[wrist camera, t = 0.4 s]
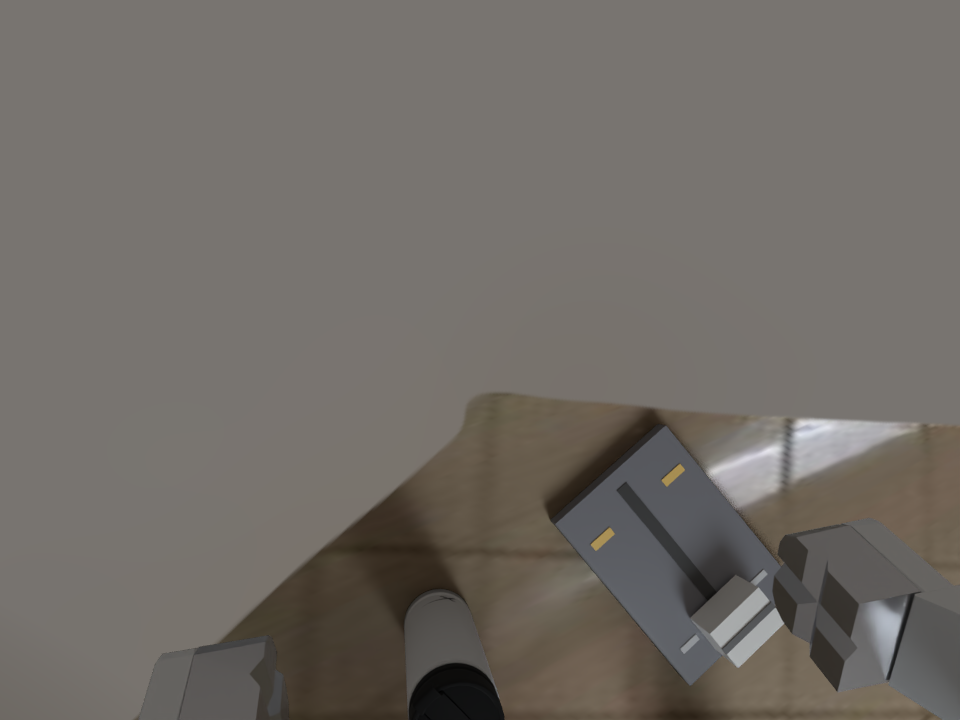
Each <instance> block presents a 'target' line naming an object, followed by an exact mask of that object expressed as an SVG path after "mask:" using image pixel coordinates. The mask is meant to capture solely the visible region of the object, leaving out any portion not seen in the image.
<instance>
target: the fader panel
mask: <svg viewBox="0 0 960 720" xmlns="http://www.w3.org/2000/svg"><path fill="white" fill-rule="evenodd" d="M551 522H552V523H553V524H554V525H555V526H556V528H557V529H558V530H559V531H560V532H561V534H562V535H563V536H564V537H565V538H566V540H567V541H568V542H569V543H570V544H571V546H572V547H573V548H574V549H575V550H576V552H577V553H578V554H579V555H580V556H581V558H582V559H583V560H584V561H585V562H586V564H587V565H588V566H589V567H590V568H591V570H592V571H593V572H594V573H595V574H596V576H597V577H598V578H599V579H600V580H601V582H602V583H603V584H604V585H605V586H606V588H607V589H608V590H609V591H610V592H611V594H612V595H613V596H614V597H615V598H616V600H617V601H618V602H619V603H620V604H621V606H622V607H623V608H624V609H625V610H626V612H627V613H628V614H629V615H630V616H631V618H632V619H633V620H634V621H635V622H636V624H637V625H638V626H639V627H640V628H641V630H642V631H643V632H644V633H645V634H646V635H647V637H648V638H649V639H650V640H651V641H652V643H653V644H654V645H655V646H656V647H657V649H658V650H659V651H660V652H661V653H662V655H663V656H664V657H665V658H666V659H667V661H668V662H669V663H670V664H671V665H672V667H673V668H674V669H675V670H676V671H677V673H678V674H679V675H680V676H681V677H682V678H683V679H684V680H685V681H686V682H687V683H688V684H689V685H690V686H691V685H692V684H693V683H694V682H695V681H696V680H697V679H698V678H699V677H700V676H701V675H702V674H703V673H704V672H705V671H706V670H707V669H709V668H710V667H711V666H712V665H713V664H714V663H715V662H716V661H717V660H718V659H719V658H720V657H721V656H722V655H721V654H720V653H719V652H718V651H717V650H716V649H715V648H714V647H713V646H712V645H711V643H710V642H709V641H708V640H707V638H706V637H705V636H704V635H703V634H702V632H701V631H700V630H699V629H698V628H697V626H696V625H695V624H694V623H693V622H692V620H691V619H690V618H691V617H692V616H693V615H694V614H695V613H696V612H697V611H698V610H699V609H700V608H701V607H702V606H703V605H704V604H705V603H706V602H707V601H709V600H710V599H711V598H712V597H713V596H714V595H715V594H716V593H717V592H718V591H719V590H720V589H721V588H722V587H723V586H724V585H725V584H726V583H728V582H729V581H730V580H731V579H732V578H733V577H734V576H735V575H737V576H739V577H741V578H743V579H744V580H746V581H748V582H750V583H752V584H753V585H755V586H757V587H759V588H760V590H761V591H762V592H763V593H764V595H765V596H766V597H767V598H768V599H769V601H771V602H772V603H773V604H774V605H775V601H774V597H773V593H772V589H773V580H774V575H775V574H776V573H777V571H778V570H779V569H780V568H781V566H780V565H779V564H778V562H777V561H776V560H775V559H774V558H773V556H772V555H771V554H770V553H769V551H768V550H767V549H766V548H765V546H764V545H763V544H762V543H761V542H760V540H759V539H758V538H757V537H756V535H755V534H754V533H753V532H752V531H751V529H750V528H749V527H748V526H747V524H746V523H745V522H744V521H743V519H742V518H741V517H740V516H739V515H738V513H737V512H736V511H735V510H734V508H733V507H732V506H731V505H730V504H729V502H728V501H727V500H726V499H725V497H724V496H723V495H722V494H721V492H720V491H719V490H718V489H717V488H716V486H715V485H714V484H713V483H712V481H711V480H710V479H709V478H708V477H707V475H706V474H705V473H704V472H703V470H702V469H701V468H700V467H699V465H698V464H697V463H696V462H695V461H694V459H693V458H692V457H691V456H690V454H689V453H688V452H687V451H686V450H685V448H684V447H683V446H682V445H681V443H680V442H679V441H678V440H677V438H676V437H675V436H674V435H673V434H672V432H671V431H670V430H669V429H668V427H667V426H666V425H660V424H657V425H656V426H655V427H654V428H653V429H652V430H651V431H649V432H648V433H647V434H646V435H645V436H644V437H643V438H642V439H640V440H639V441H638V442H637V443H636V444H635V445H634V446H633V447H631V448H630V449H629V450H628V451H627V452H626V453H625V454H624V455H622V456H621V457H620V458H619V459H618V460H617V461H616V462H615V463H614V464H612V465H611V466H610V467H609V468H608V469H607V470H606V471H605V472H603V473H602V474H601V475H600V476H599V477H598V478H597V479H596V480H594V481H593V482H592V483H591V484H590V485H589V486H588V487H587V488H585V489H584V490H583V491H582V492H581V493H580V494H579V495H578V496H577V497H575V498H574V499H573V500H572V501H571V502H570V503H569V504H568V505H566V506H565V507H564V508H563V509H562V510H561V511H560V512H559V513H557V514H556V515H555V516H554V517H553V518H552V519H551Z"/></svg>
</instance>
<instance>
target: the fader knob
mask: <svg viewBox="0 0 960 720" xmlns="http://www.w3.org/2000/svg"><path fill="white" fill-rule="evenodd" d="M690 619H691V620H692V622H693V623H694V624H695V625H696V626H697V628H698V629H699V630H700V631H701V632H702V634H703V635H704V636H705V637H706V638H707V640H708V641H709V642H710V643H711V645H712V646H713V647H714V648H715V649H716V650H717V651H718V652H719V653H720V654H721V655H723V656H724V657H725V658H726V659H727V660H729V661H730V662H731V663H732V664H734V665H735V666H736V667H737V668H739V667H740V666H741V665H742V664H743V663H744V662H745V661H746V660H747V659H748V658H749V657H750V656H751V655H752V654H753V653H754V652H755V651H756V650H757V649H758V648H759V647H760V646H761V645H762V644H763V643H764V642H766V641H767V640H768V639H769V638H770V637H771V636H772V635H773V634H774V633H775V632H776V631H777V630H778V629H779V628H780V627H781V626H782V625H783V624H784V622H783V621H782V619H781V617H780V615H779V613H778V611H777V609H776V608H775V605H774V604H773V603H772V602H771V601H769V599H768V598H767V597H766V596H765V595H764V593H763V592H762V591H761V590H760V588H759V587H757V586H755V585H753V584H752V583H750V582H748V581H746V580H744V579H743V578H741V577H739V576H737V575H735V576H734V577H733V578H732V579H731V580H730V581H729V582H728V583H726V584H725V585H724V586H723V587H722V588H721V589H720V590H719V591H718V592H717V593H716V594H715V595H714V596H713V597H712V598H711V599H710V600H709V601H707V602H706V603H705V604H704V605H703V606H702V607H701V608H700V609H699V610H698V611H697V612H696V613H695V614H694V615H693V616H692V617H691V618H690Z"/></svg>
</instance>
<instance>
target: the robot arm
mask: <svg viewBox="0 0 960 720" xmlns="http://www.w3.org/2000/svg"><path fill="white" fill-rule="evenodd" d="M778 556H779V557H780V558H781V559H782V561H783V562H784V564H783V565H782V567H781V568H780V569H779V570H778V571H777V573H776V574H775V575H774V580H773V589H772V593H773V597H774V601H775V605H776V609H777V611H778V613H779V615H780V617H781V619H782V621H783V622H784V624H785V625H786V626H787V628H788V629H789V630H790V632H791V633H792V634H793V635H795V636H797V637H799V638H801V639H803V640H805V641H806V642H808V643H810V658H811V659H812V660H813V661H814V663H815V664H816V665H817V667H818V668H819V669H820V670H821V672H822V673H823V674H824V676H825V677H826V678H827V679H828V681H829V682H830V683H831V684H832V686H833V687H834V688H835V690H836V691H837V692H841V691H846V690H851V689H856V688H861V687H866V686H871V685H876V684H881V683H886V682H889V686H891V687H892V688H894V689H895V690H897V691H899V692H900V693H902V694H903V695H905V696H906V697H908V698H910V699H911V700H913V701H914V702H916V703H917V704H919V705H921V706H922V707H924V708H925V709H927V710H928V711H930V712H932V713H933V714H935V715H936V716H938V717H939V718H941V719H943V720H960V585H956V586H953V585H952V584H951V583H950V582H949V581H948V580H947V579H945V578H944V577H943V576H942V575H941V574H940V573H938V572H937V571H936V570H935V569H934V568H933V567H932V566H930V565H929V564H928V563H927V562H926V561H925V560H924V559H922V558H921V557H920V556H919V555H918V554H917V553H915V552H914V551H913V550H912V549H911V548H910V547H909V546H907V545H906V544H905V543H904V542H903V541H902V540H901V539H899V538H898V537H897V536H896V535H895V534H894V533H892V532H891V531H890V530H889V529H888V528H887V527H886V526H884V525H883V524H882V523H881V522H879V521H877V520H875V519H872V518H867V519H862V520H857V521H852V522H847V523H842V524H841V525H833V526H828V527H823V528H818V529H813V530H808V531H803V532H798V533H793V534H788V535H785V536H784V537H783V539H782V540H781V541H780V544H779V550H778ZM276 659H277V651H276V648H275V645H274V642H273V638H272V637H271V636H269V635H267V636H261V637H255V638H249V639H243V640H237V641H231V642H225V643H220V644H214V645H208V646H202V647H199V648H194V649H188V650H183V651H176V652H170V653H164V654H162V655H161V656H160V658H159V659H158V661H157V662H156V664H155V666H154V669H153V672H152V676H151V679H150V683H149V686H148V689H147V693H146V696H145V699H144V703H143V706H142V709H141V713H140V716H139V719H138V720H289V702H288V696H287V689H286V684H285V680H284V676H283V674H282V673H280V672H278V671H277V670H276Z"/></svg>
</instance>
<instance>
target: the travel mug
mask: <svg viewBox="0 0 960 720" xmlns="http://www.w3.org/2000/svg"><path fill="white" fill-rule="evenodd" d="M404 635H405V659H406V682H407V705H408V720H504V713H503V710H502V706H501V703H500V700H499V696H498V692H497V689H496V686H495V683H494V680H493V677H492V674H491V671H490V668H489V665H488V662H487V659H486V656H485V653H484V650H483V647H482V644H481V641H480V638H479V635H478V632H477V630H476V627H475V624H474V621H473V618H472V615H471V612H470V609H469V607H468V605H467V603H466V602H465V601H464V600H463V598H461V597H460V596H459V595H458V594H456V593H454V592H452V591H449V590H445V589H434V590H430V591H427V592H425V593H423V594H421V595H420V596H418V597H417V598H416V599H415V600H414V601H413V602H412V603H411V605H410V606H409V608H408V610H407V612H406V615H405V620H404Z"/></svg>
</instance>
